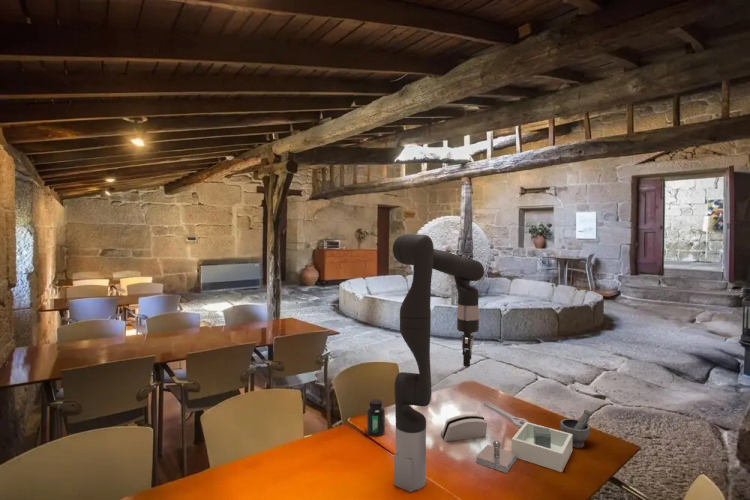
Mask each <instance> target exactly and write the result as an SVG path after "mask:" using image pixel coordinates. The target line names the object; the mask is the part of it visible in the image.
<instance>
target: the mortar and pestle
mask: <svg viewBox="0 0 750 500" xmlns="http://www.w3.org/2000/svg"><path fill="white" fill-rule="evenodd" d="M592 416H593V412H591V411H590V410H588V409H584V410H583V414H582V415H581V416H580V418H578V419H575V418H562V419H561V420H560V421H559V427H560V431H562V432H566V433H570V434H573V446H572V448H573V447H574V448H576V449H577V448H584V446H585V441H586V440H587V439H588V438H589V436H590V434H591V427H590V425H589V423H588V422H589V420H590V419H591V418H590V417H592Z"/></svg>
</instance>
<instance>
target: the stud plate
mask: <svg viewBox="0 0 750 500" xmlns="http://www.w3.org/2000/svg"><path fill="white" fill-rule="evenodd" d="M517 459H518V458H517V454H516V453H513V452H512V451H510V450H506V449H503V448H501V442H500V441H499V440H494V441H493V443H492V445H490V444H486V446H485V447H484V448H483V449H482V450H481V451H480V452H479V453H478V455H477V456H476V462H475V463H476V464H479V465H481V466H484V467H488V468H491V469H494V470H497V471H498V472H501V473H505V474H507V473H508V472H509V470H510V469H511V467H512V466H513V465H514V463H515V462H516V461H517Z"/></svg>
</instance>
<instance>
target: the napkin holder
mask: <svg viewBox="0 0 750 500" xmlns="http://www.w3.org/2000/svg"><path fill="white" fill-rule="evenodd" d="M487 429H488V423H487V421H486V419H485V417H484V416H483V415H481V414H474V413H466V414H461V415H460V414H459V415H456V416H453V417H450V418H448V419H446V421H445V424H444V427H443V430H441V432H440V436H442V437H444V438H443V440H444V441H445V442H452V441H459V440H460V441H461V440H465V439H466V440H467V439H474V438H482V437H483V438H484V437H487Z"/></svg>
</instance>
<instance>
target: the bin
mask: <svg viewBox="0 0 750 500" xmlns="http://www.w3.org/2000/svg"><path fill="white" fill-rule="evenodd" d="M522 425H523V424H522ZM534 427H543V428H549V431H550V434H551V449H550V448H546V447H543V446H539V445H536V444H534ZM572 446H573V434H570V433H566V432H562V431H561V430H558V429H555V428H551V427H546V426H543V425H539V424H535V423H533V422H532V423H531V422H529V421H528V422H525V423H524V425H523V426H522V427H521V428H518V431H516V433H515V434H514V436H513V437H512V438H511V452H513V453H516V454H517V459H519V460H523V461H526V462H529V463H532V464H534V465H538V466H541V467H544V468H547V469H550V470H554V471H556V472H559V473H563V471H564V469H565V467H566V465H567V463H568V461H569V459H570V457H571V455H572V452H573V447H572Z"/></svg>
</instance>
